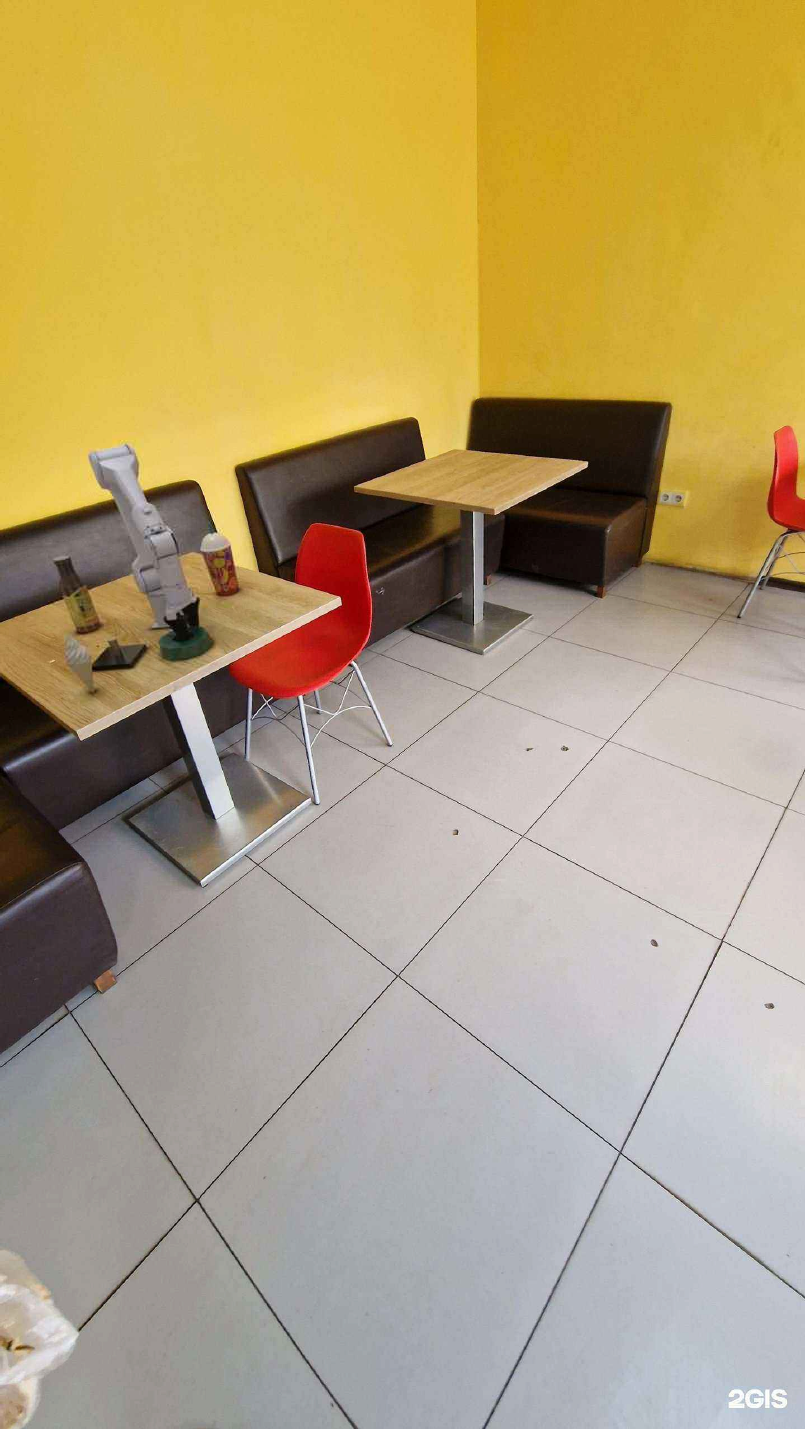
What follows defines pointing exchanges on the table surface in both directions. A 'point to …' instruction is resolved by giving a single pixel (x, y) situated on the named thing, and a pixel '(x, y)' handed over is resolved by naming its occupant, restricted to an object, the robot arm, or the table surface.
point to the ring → (185, 644)
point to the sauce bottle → (76, 596)
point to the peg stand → (118, 656)
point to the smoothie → (219, 562)
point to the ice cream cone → (79, 661)
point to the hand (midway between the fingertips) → (190, 634)
